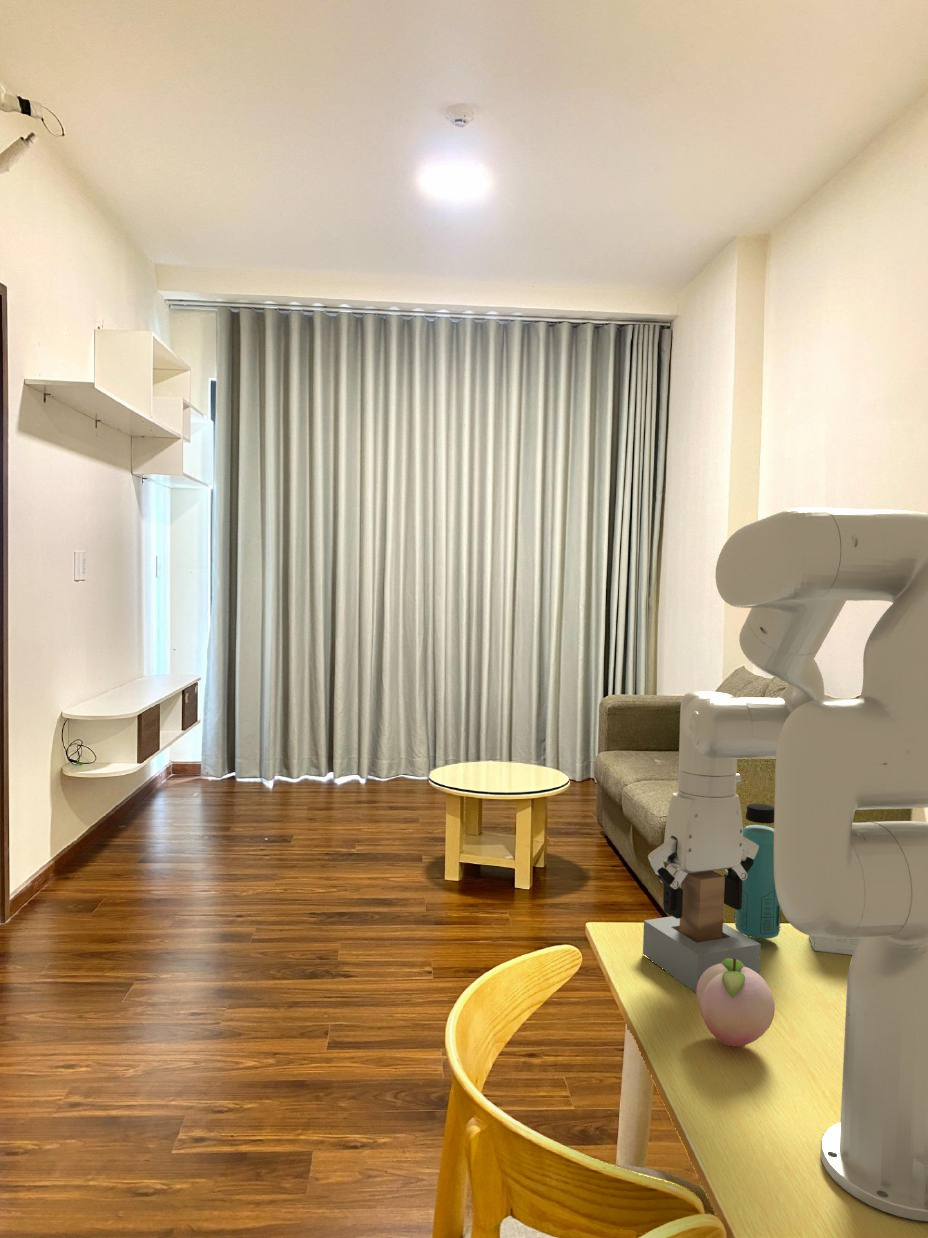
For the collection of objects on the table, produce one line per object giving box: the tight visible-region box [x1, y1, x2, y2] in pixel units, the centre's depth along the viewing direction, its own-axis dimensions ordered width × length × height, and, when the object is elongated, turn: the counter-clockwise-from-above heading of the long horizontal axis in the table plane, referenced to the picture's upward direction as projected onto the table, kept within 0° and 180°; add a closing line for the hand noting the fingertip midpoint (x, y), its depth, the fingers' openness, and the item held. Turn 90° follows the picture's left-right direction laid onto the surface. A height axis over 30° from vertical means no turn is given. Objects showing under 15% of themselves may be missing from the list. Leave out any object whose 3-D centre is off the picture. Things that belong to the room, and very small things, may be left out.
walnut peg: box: [679, 870, 725, 943], centre depth 122 cm, size 4×4×12 cm
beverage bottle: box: [733, 803, 782, 940], centre depth 132 cm, size 6×7×20 cm
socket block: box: [642, 915, 761, 994], centre depth 122 cm, size 12×10×5 cm
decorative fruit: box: [696, 958, 776, 1047], centre depth 102 cm, size 9×8×10 cm
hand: (702, 910), depth 121 cm, fingers open, 9 cm apart
